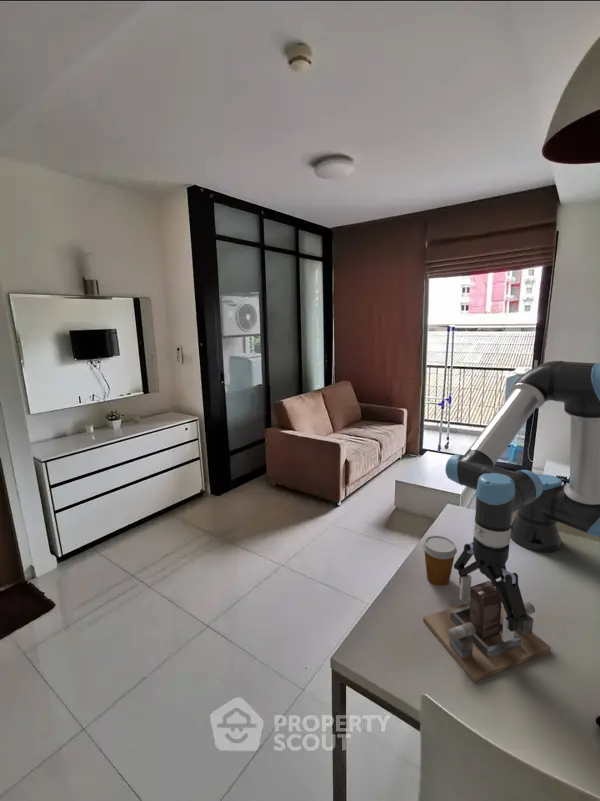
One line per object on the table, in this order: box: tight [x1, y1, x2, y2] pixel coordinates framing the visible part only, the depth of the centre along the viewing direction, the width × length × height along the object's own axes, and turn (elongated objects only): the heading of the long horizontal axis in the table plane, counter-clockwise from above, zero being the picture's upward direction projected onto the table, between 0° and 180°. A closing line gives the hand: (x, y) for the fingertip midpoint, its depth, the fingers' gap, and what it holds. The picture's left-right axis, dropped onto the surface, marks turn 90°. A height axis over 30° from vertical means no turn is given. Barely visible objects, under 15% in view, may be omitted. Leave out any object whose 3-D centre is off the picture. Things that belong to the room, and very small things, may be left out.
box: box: [469, 580, 502, 640], centre depth 92 cm, size 6×4×12 cm
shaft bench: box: [422, 601, 552, 683], centre depth 93 cm, size 24×18×8 cm
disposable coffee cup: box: [422, 534, 458, 587], centre depth 112 cm, size 10×10×12 cm
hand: (484, 617), depth 92 cm, fingers open, 13 cm apart
